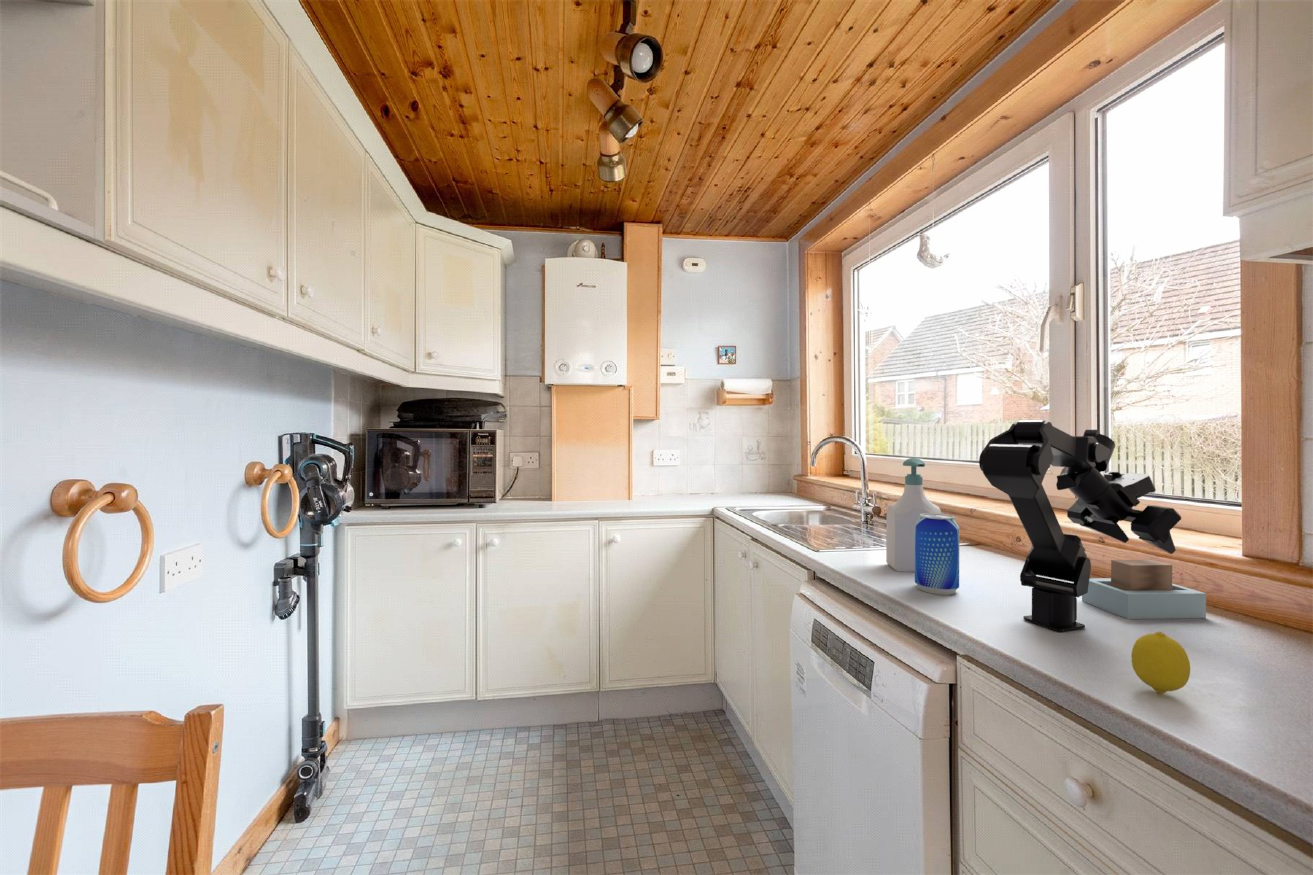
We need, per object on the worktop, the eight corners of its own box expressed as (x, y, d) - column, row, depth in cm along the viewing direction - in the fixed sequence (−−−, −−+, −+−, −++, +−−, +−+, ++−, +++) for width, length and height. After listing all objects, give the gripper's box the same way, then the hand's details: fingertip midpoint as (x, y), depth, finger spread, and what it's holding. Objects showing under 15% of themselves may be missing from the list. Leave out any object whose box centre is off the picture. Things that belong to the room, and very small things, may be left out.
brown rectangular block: (1129, 613, 98) (1130, 565, 98) (1110, 606, 102) (1111, 560, 102) (1171, 612, 98) (1172, 564, 98) (1151, 605, 102) (1151, 559, 102)
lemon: (1119, 683, 71) (1120, 625, 71) (1157, 682, 71) (1157, 623, 71) (1162, 705, 65) (1163, 641, 65) (1202, 703, 66) (1203, 639, 66)
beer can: (960, 587, 114) (960, 514, 114) (958, 598, 107) (958, 520, 106) (917, 581, 118) (917, 511, 118) (912, 591, 111) (912, 516, 111)
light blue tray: (1127, 618, 95) (1128, 594, 95) (1081, 600, 105) (1082, 578, 105) (1205, 618, 95) (1206, 593, 95) (1152, 600, 105) (1152, 577, 105)
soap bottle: (897, 573, 126) (897, 458, 125) (886, 564, 134) (886, 456, 133) (945, 574, 124) (946, 458, 124) (931, 565, 133) (931, 457, 132)
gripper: (1171, 462, 90) (1233, 525, 90) (1081, 456, 109) (1133, 508, 109) (1125, 508, 90) (1188, 571, 90) (1043, 494, 109) (1095, 546, 109)
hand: (1148, 546), depth 100 cm, fingers open, 9 cm apart
